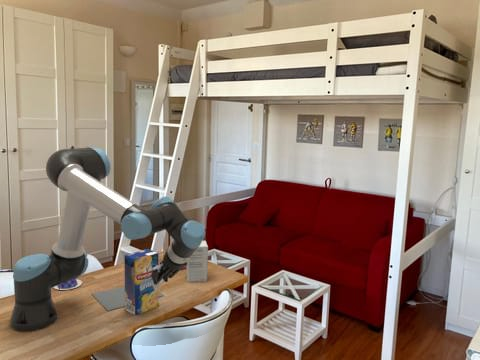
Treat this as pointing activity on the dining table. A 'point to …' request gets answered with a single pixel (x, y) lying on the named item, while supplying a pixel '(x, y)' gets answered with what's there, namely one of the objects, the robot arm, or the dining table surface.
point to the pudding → (69, 284)
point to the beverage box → (140, 281)
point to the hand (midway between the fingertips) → (155, 286)
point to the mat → (113, 298)
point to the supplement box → (198, 264)
